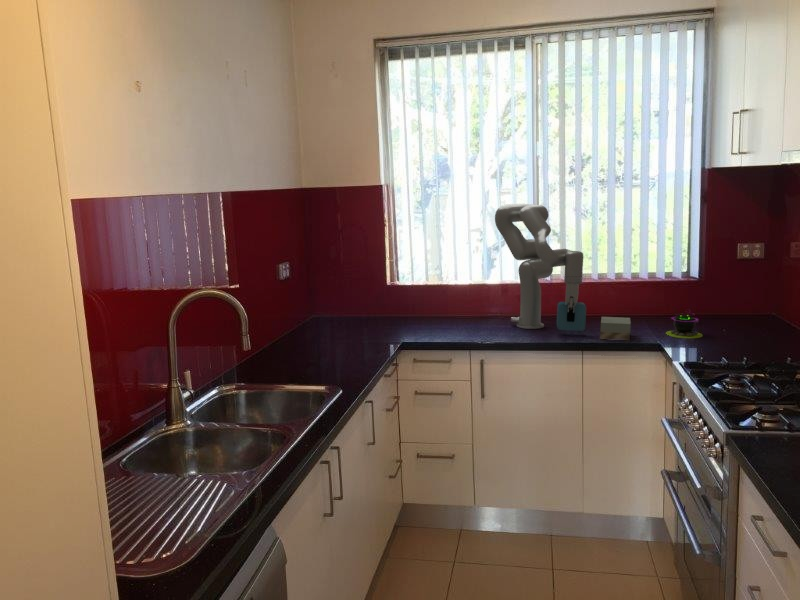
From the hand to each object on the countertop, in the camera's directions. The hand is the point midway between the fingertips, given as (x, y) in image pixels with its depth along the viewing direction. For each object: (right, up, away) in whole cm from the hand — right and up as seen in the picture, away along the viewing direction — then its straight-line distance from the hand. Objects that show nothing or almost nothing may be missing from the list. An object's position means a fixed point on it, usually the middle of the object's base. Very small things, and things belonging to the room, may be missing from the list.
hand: (571, 319), depth 293 cm
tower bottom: (+18, -8, -5) cm, 20 cm away
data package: (0, -5, +1) cm, 5 cm away
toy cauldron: (+49, -7, -3) cm, 49 cm away
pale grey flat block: (+18, -4, -6) cm, 19 cm away
